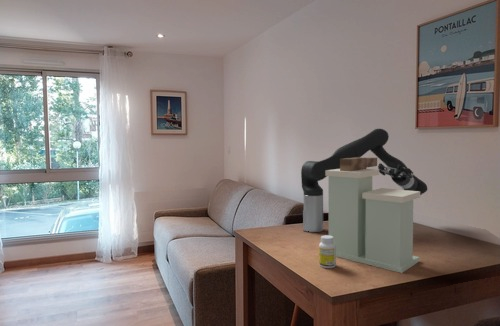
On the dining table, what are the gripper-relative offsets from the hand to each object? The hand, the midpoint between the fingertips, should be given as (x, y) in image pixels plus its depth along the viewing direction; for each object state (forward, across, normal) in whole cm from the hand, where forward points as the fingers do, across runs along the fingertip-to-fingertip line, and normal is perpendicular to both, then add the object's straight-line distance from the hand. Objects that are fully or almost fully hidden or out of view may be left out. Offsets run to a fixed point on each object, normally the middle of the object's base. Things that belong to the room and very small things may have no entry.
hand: (388, 166), depth 158 cm
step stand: (+15, +10, +42) cm, 45 cm away
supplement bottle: (+32, +3, +49) cm, 59 cm away
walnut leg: (+24, +1, +10) cm, 26 cm away
